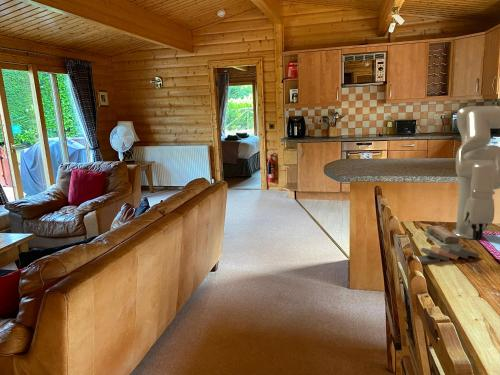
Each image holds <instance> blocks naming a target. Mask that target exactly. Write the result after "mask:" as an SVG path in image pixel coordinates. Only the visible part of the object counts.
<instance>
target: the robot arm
mask: <svg viewBox="0 0 500 375" xmlns="http://www.w3.org/2000/svg"><path fill="white" fill-rule="evenodd" d="M456 126H457V129H458V132H459V133H460V137H461V145H460V146H459V148H458V149H457V151H456V155H455V172H456V175H457V181H458V198H457V199H458V203H457V213H456V215H457V216H456V228H454V229H452V232H451V233H452V234H454V235H455V236H457V237H458V238H462V239H466V240H467V239H468V240H475V241H482V240H483V238H484V235H485V234H484V231H489V230H490V226H491V225H492V224H493V222H494V218H495V200H494V198H493V197H494V196H493V195H495V190H499V189H500V146H498V145H493V144H492V145H490V144H489V143H490V142H491V139H492V138H491V129H500V106H499V105H481V106H480V105H475V106H465V107H462V108H460V109H459V110H457V113H456ZM488 144H489V145H488Z"/></svg>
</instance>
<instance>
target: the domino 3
mask: <svg viewBox="0 0 500 375" xmlns="http://www.w3.org/2000/svg"><path fill="white" fill-rule="evenodd" d="M440 248H441V247H440ZM440 248H439V247H437V246H433V245H431V247H430V249H429V250H432V251H434V252H435V253H437V254H440V255H443V256H446V257H449V259H451V260H456V261H457V260H458V258H459V256H456V255H453V254H450V253H447V252H445V251H444V250H442V249H440Z"/></svg>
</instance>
